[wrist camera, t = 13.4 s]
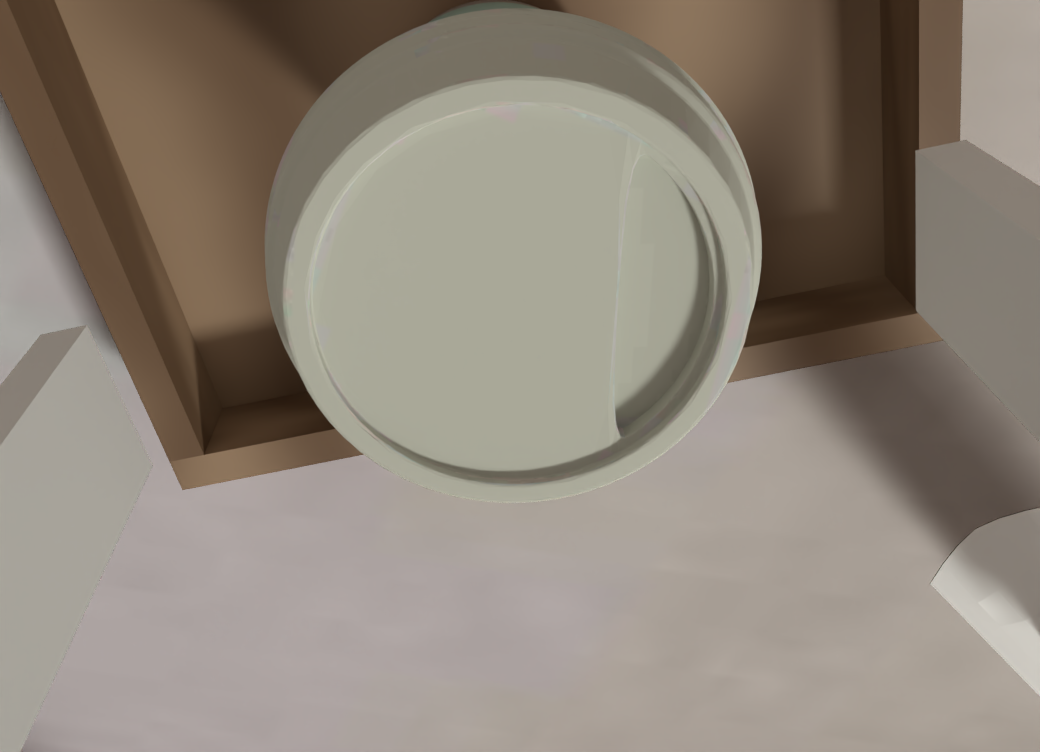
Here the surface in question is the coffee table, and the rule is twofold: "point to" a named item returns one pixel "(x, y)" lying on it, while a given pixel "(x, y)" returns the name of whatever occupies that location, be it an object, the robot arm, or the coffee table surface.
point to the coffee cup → (513, 253)
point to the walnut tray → (341, 43)
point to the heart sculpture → (1000, 588)
